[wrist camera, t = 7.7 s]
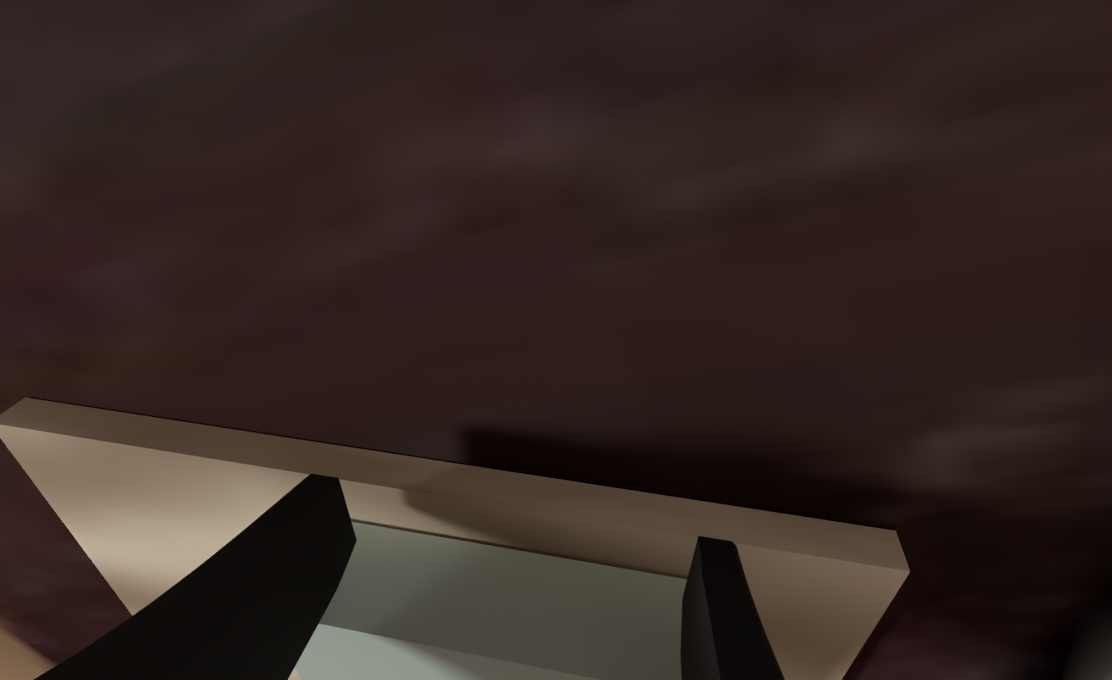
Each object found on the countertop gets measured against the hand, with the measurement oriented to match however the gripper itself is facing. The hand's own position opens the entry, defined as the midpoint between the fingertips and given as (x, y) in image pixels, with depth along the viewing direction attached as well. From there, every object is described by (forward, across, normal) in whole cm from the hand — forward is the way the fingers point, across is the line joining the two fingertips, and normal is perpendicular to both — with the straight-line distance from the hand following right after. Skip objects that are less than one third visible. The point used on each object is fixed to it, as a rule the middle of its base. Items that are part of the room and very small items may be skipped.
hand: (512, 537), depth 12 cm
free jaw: (+1, 0, +4) cm, 4 cm away
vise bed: (+2, +3, +9) cm, 10 cm away
